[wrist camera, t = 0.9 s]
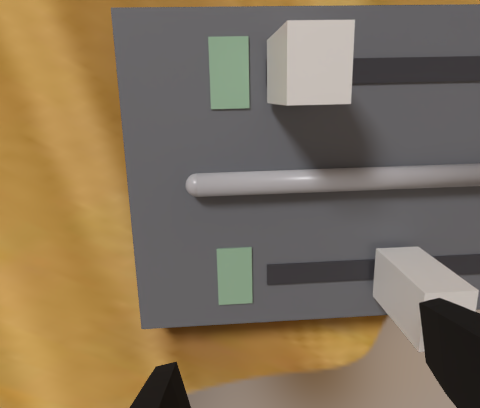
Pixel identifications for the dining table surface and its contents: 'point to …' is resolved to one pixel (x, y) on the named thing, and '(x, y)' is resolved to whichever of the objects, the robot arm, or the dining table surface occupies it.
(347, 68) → the breaker
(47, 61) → the dining table surface
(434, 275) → the block
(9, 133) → the dining table surface
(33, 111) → the dining table surface
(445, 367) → the robot arm
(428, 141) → the slider control panel
